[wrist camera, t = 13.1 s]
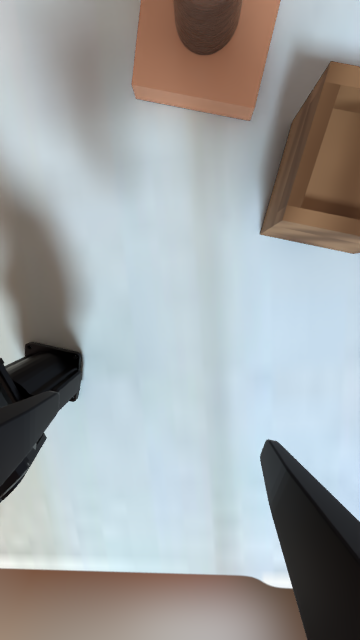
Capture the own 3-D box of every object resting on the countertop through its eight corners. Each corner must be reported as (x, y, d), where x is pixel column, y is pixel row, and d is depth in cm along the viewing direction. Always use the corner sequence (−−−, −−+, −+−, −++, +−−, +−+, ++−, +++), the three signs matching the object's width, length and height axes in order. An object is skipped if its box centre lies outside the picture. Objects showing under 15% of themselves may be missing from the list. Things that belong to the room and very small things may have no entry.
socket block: (260, 234, 18) (282, 220, 13) (292, 121, 16) (331, 61, 11) (353, 253, 18) (406, 245, 13) (398, 142, 15) (479, 89, 11)
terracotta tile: (136, 98, 16) (131, 84, 15) (155, -68, 14) (152, -101, 12) (249, 121, 16) (254, 108, 15) (289, -44, 13) (298, -75, 12)
